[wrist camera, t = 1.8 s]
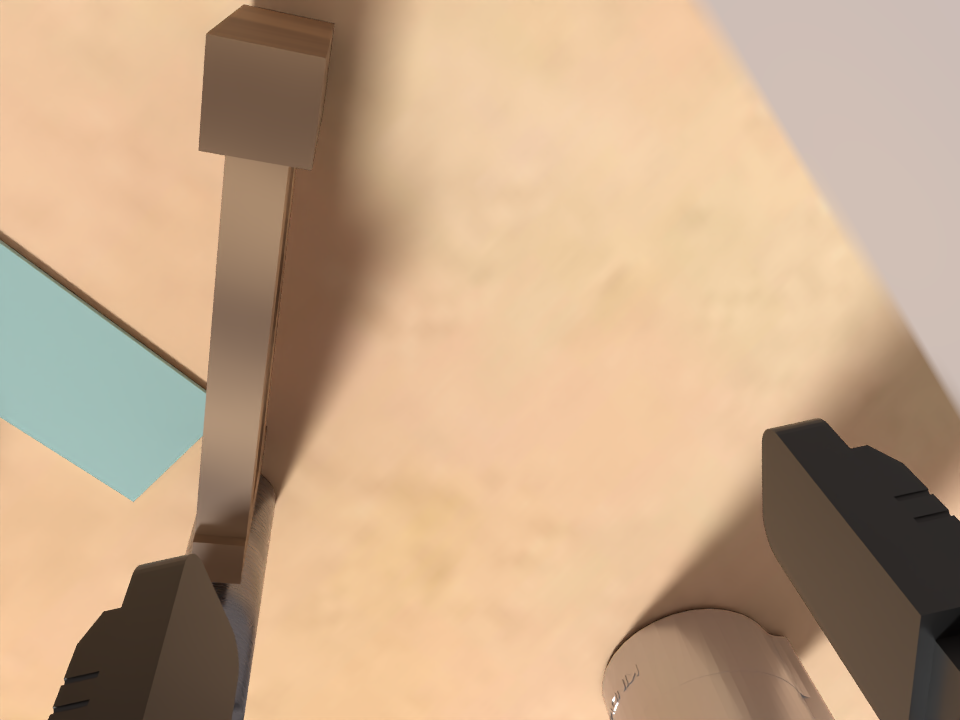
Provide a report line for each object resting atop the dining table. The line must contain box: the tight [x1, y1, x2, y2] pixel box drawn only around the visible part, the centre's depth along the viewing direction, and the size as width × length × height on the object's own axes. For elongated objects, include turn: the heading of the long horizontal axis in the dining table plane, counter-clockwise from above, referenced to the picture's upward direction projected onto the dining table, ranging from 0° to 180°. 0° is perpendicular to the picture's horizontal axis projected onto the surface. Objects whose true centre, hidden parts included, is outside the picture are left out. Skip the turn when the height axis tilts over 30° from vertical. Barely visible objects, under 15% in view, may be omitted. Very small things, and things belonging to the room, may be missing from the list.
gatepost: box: [185, 475, 276, 720], centre depth 31 cm, size 3×3×11 cm
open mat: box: [0, 240, 206, 502], centre depth 31 cm, size 16×6×1 cm, turn 43°
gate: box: [192, 5, 334, 584], centre depth 27 cm, size 17×3×7 cm, turn 168°
